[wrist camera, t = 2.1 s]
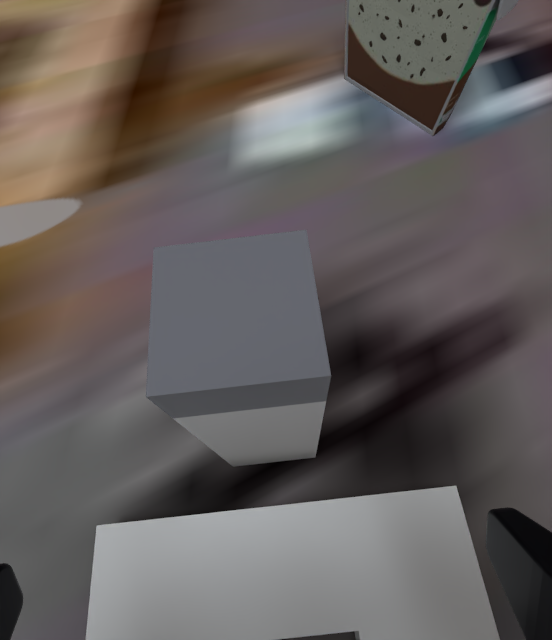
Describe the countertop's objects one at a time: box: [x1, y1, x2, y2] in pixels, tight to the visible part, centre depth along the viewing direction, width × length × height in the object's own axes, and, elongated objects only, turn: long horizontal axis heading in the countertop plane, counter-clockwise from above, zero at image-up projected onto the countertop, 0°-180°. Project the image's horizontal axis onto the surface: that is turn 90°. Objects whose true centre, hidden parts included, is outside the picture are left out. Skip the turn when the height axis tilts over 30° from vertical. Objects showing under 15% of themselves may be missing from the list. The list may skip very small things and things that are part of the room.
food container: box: [344, 0, 518, 136], centre depth 27 cm, size 12×6×10 cm, turn 38°
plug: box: [146, 230, 331, 467], centre depth 15 cm, size 4×4×12 cm
